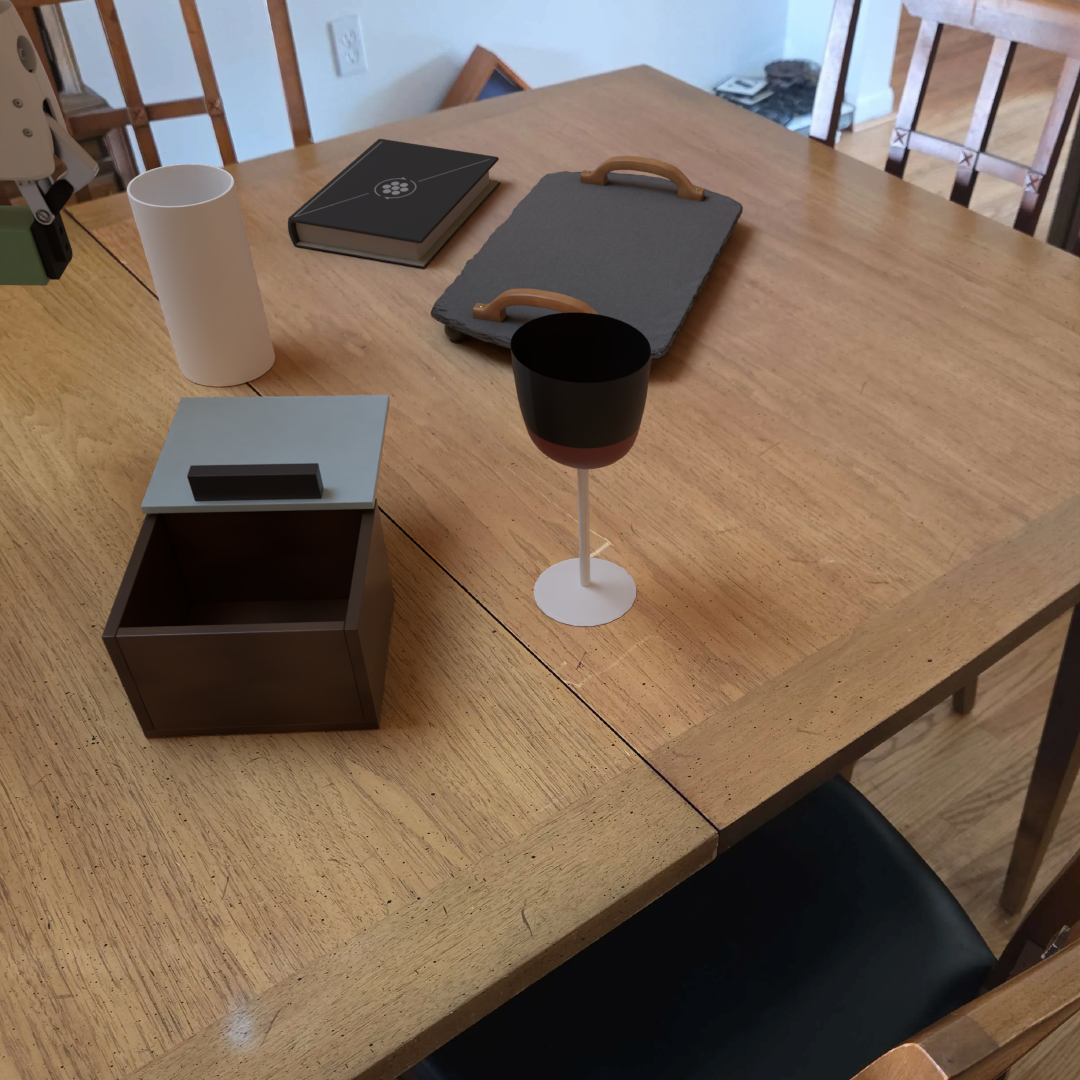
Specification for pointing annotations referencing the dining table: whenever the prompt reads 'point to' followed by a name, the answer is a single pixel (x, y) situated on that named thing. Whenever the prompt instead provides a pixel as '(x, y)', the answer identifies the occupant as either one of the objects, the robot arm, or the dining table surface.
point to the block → (19, 249)
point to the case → (254, 622)
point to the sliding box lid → (270, 454)
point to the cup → (203, 272)
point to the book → (395, 203)
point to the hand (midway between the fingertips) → (24, 268)
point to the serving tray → (595, 254)
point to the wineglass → (582, 438)
